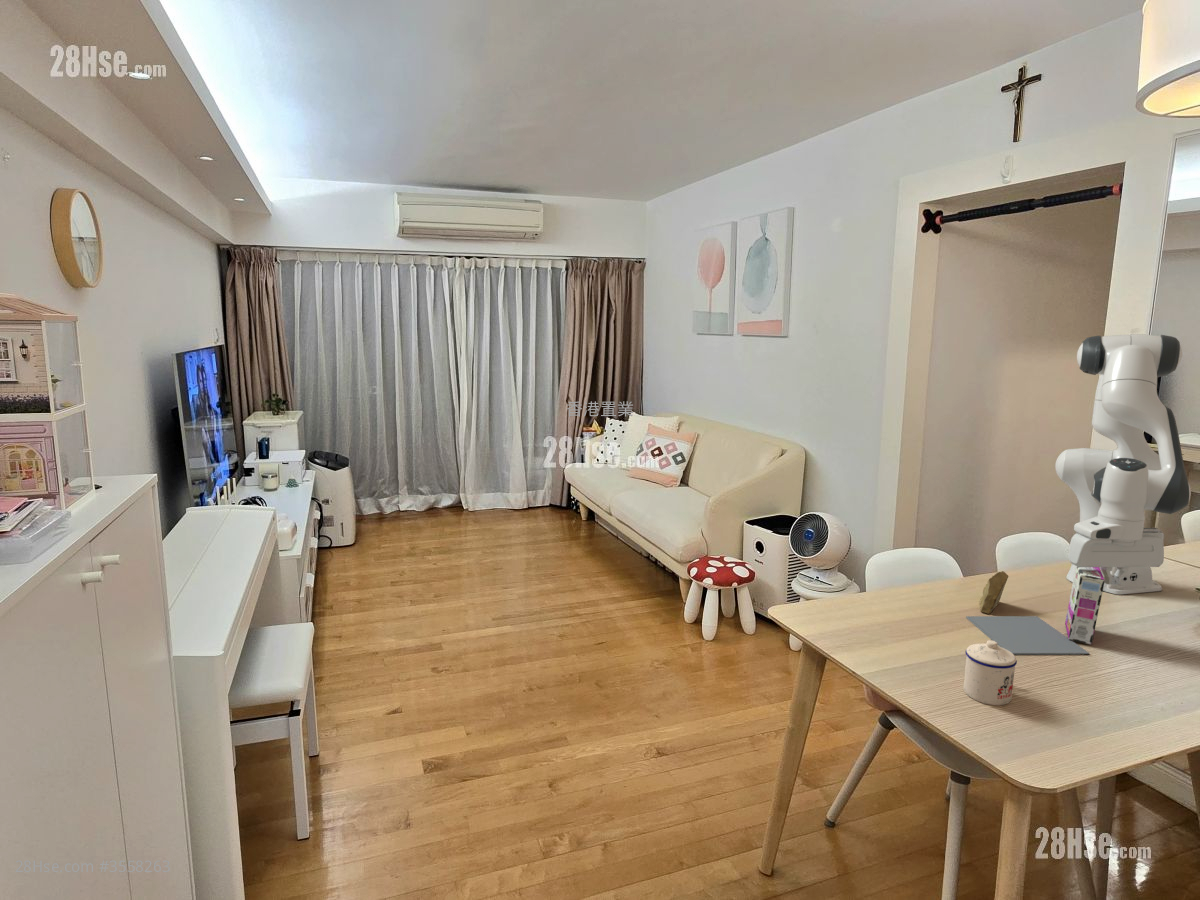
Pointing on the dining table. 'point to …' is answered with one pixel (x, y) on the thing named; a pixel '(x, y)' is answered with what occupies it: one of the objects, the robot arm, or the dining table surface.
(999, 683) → the teacup with lid
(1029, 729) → the dining table surface
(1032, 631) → the mat
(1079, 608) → the candy bar box
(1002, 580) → the rock
